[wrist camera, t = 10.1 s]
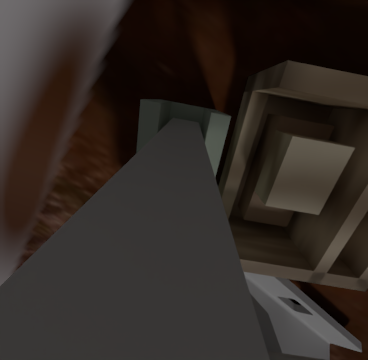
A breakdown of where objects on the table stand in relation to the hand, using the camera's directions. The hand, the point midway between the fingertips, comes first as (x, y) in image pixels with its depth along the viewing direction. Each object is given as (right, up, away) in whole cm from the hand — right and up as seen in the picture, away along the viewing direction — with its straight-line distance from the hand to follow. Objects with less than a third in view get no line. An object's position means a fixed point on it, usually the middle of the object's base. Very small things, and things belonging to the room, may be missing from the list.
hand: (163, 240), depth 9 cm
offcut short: (+9, +4, +6) cm, 12 cm away
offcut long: (+9, +4, +8) cm, 13 cm away
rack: (+11, +4, +9) cm, 15 cm away
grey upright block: (0, +3, +7) cm, 8 cm away
